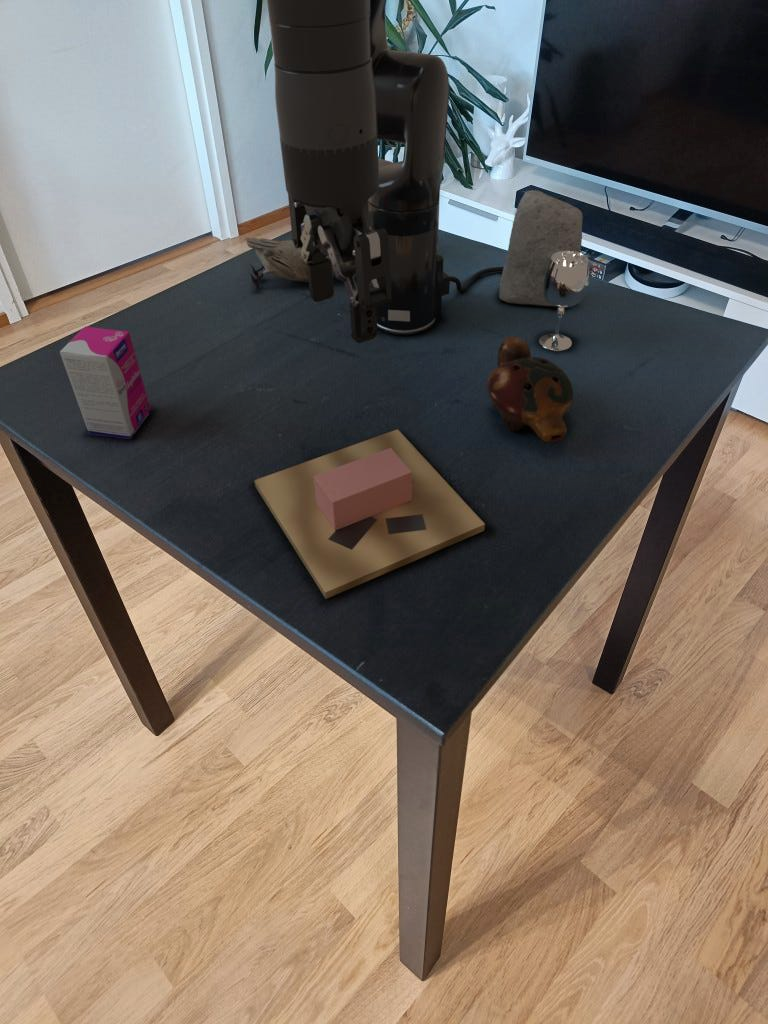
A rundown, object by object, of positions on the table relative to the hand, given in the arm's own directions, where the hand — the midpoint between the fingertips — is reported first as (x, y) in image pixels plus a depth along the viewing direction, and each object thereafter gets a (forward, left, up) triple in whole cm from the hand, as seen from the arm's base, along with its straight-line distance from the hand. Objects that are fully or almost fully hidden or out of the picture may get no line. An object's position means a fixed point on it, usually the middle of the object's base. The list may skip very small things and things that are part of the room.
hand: (342, 317), depth 66 cm
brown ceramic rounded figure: (-23, +2, -20) cm, 30 cm away
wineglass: (-37, -10, -20) cm, 43 cm away
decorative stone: (-42, -21, -20) cm, 51 cm away
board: (+1, +6, -19) cm, 20 cm away
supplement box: (+20, -22, -20) cm, 36 cm away
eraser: (+1, +6, -18) cm, 19 cm away
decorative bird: (-14, -44, -20) cm, 50 cm away
